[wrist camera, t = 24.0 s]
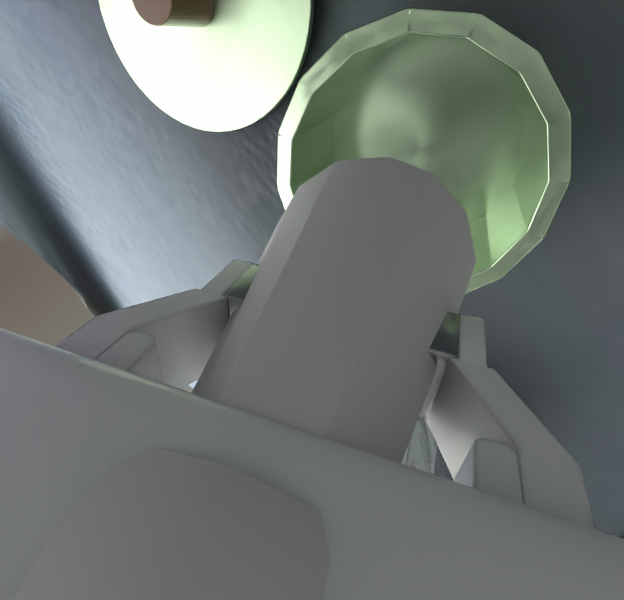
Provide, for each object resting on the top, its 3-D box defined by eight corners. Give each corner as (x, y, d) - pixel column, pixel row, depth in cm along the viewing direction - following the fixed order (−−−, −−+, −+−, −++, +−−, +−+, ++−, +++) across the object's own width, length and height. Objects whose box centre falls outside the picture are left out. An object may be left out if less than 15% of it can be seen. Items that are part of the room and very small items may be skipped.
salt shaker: (316, 295, 16) (39, 758, 6) (290, 149, 13) (-365, 557, 3) (470, 301, 14) (472, 1043, 4) (481, 129, 11) (637, 1415, 1)
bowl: (588, 29, 18) (643, 25, 13) (495, 261, 26) (503, 327, 20) (333, 8, 21) (280, -3, 15) (314, 223, 28) (274, 271, 23)
